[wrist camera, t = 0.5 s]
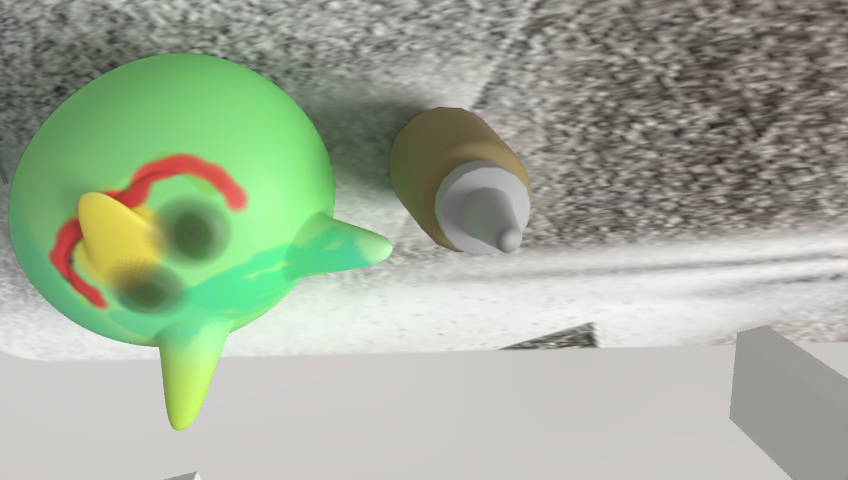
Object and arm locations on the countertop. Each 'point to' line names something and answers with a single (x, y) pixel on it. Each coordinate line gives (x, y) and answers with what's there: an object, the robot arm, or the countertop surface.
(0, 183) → the mount
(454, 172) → the squeeze bottle
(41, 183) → the toy bird
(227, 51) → the countertop surface
